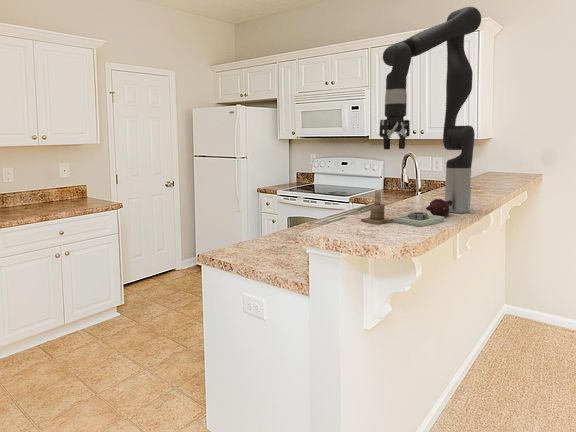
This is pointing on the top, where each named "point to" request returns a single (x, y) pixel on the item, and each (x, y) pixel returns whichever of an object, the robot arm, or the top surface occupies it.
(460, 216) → the top surface
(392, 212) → the top surface
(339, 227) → the top surface
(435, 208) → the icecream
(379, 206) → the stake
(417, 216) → the ring
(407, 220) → the tray
